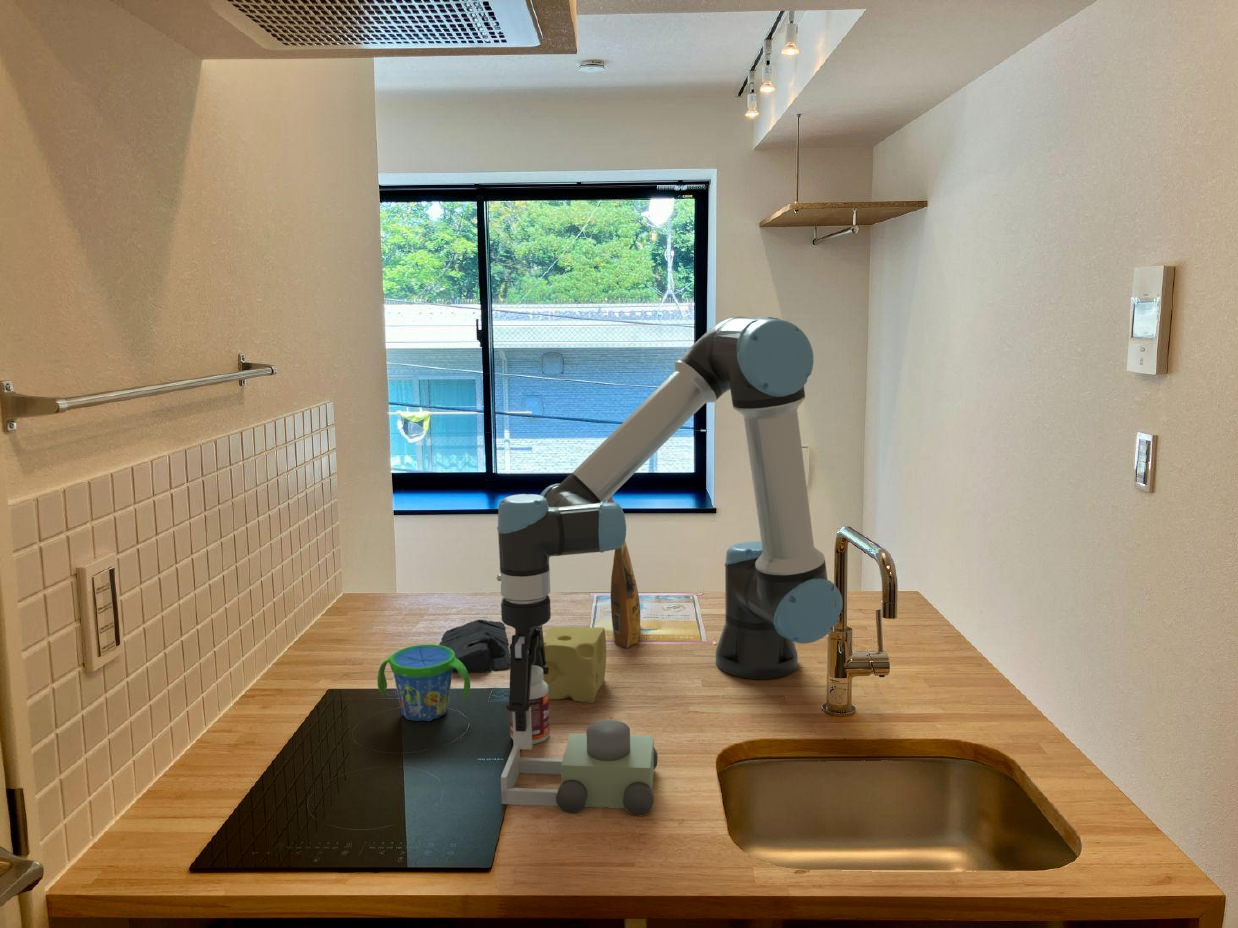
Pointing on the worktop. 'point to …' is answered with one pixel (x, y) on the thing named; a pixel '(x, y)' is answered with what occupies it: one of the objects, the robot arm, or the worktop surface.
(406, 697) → the snack cup
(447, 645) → the dark slate chunk
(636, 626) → the pancake mix bag
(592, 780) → the toy lawn mower
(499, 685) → the worktop surface
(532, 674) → the pill bottle
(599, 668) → the cheese
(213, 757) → the worktop surface
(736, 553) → the robot arm
